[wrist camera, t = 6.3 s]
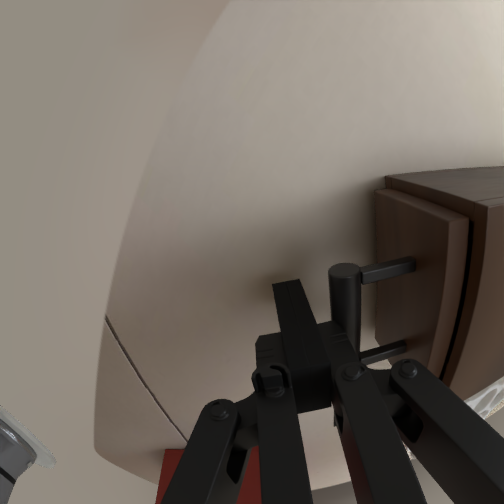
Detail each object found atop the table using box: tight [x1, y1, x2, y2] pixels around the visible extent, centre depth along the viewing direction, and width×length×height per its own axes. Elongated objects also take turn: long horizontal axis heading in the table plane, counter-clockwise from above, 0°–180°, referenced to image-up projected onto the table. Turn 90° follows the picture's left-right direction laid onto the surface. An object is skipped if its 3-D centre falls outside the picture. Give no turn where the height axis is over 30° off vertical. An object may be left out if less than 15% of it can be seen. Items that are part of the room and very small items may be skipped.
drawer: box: [328, 188, 474, 379], centre depth 13 cm, size 17×10×7 cm, turn 101°
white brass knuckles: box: [403, 376, 504, 459], centre depth 23 cm, size 3×18×15 cm
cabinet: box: [385, 166, 504, 401], centre depth 13 cm, size 14×12×9 cm
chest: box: [155, 446, 261, 504], centre depth 22 cm, size 15×12×8 cm
